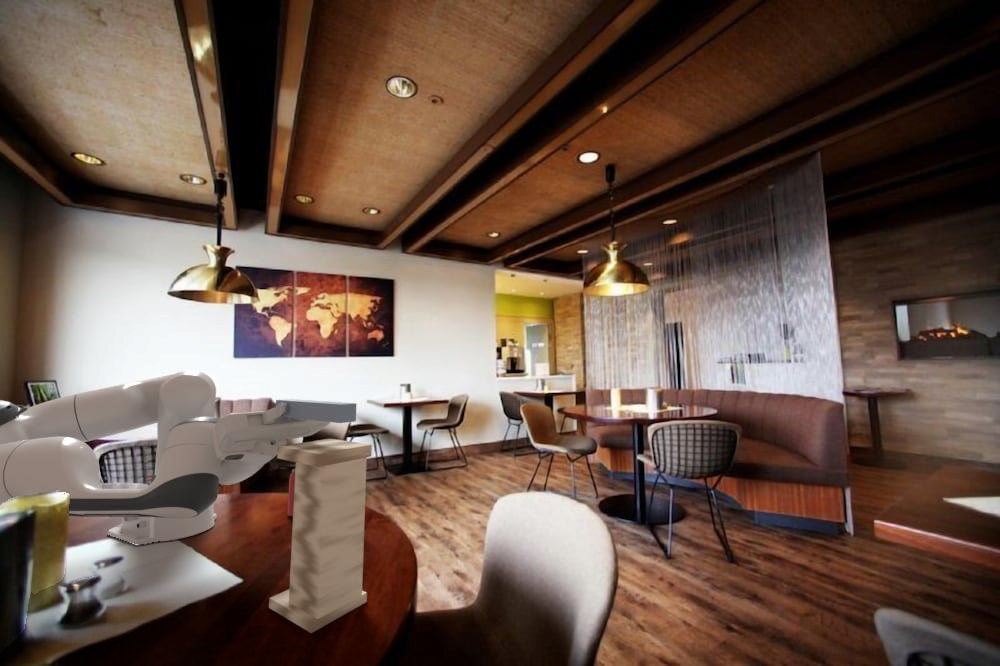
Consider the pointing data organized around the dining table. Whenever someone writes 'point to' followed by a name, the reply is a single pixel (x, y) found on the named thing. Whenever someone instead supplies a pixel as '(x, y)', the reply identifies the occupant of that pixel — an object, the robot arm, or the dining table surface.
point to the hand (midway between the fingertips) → (297, 406)
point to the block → (320, 410)
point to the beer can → (291, 493)
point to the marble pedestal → (325, 532)
